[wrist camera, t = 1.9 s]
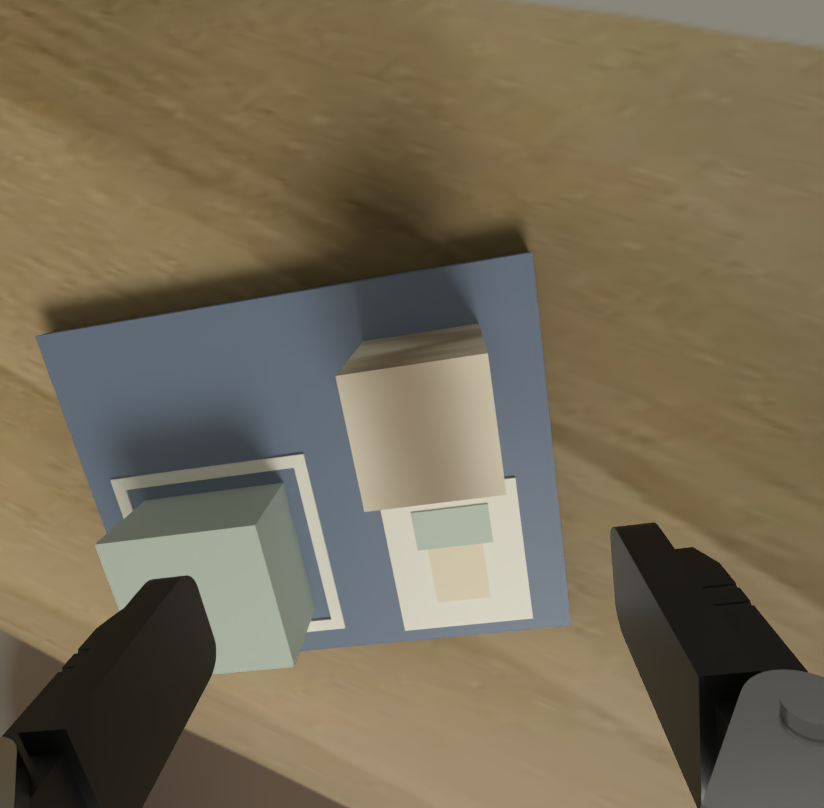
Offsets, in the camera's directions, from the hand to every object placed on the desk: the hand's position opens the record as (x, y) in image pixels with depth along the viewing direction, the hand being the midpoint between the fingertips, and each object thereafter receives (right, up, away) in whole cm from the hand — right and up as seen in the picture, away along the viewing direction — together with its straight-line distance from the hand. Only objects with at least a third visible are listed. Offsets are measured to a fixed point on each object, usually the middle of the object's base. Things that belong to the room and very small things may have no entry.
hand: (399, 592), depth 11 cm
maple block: (+1, +4, +14) cm, 15 cm away
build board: (-4, 0, +17) cm, 17 cm away
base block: (-9, -4, +17) cm, 20 cm away
